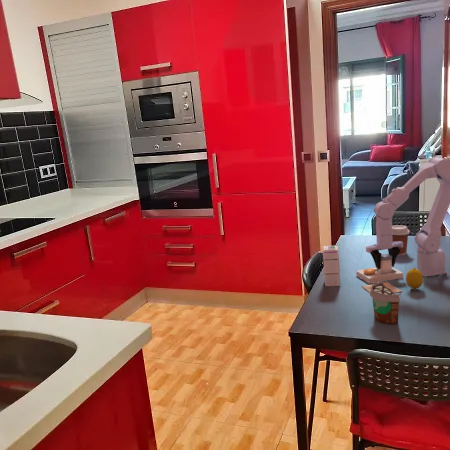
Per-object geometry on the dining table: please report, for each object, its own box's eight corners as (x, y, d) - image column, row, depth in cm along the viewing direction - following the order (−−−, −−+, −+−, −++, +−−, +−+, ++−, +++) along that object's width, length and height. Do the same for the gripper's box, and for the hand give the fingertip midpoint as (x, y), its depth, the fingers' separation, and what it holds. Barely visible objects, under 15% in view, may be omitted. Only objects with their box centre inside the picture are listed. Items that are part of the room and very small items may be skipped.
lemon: (422, 286, 160) (422, 265, 158) (423, 292, 155) (423, 270, 153) (405, 286, 162) (405, 265, 160) (406, 292, 157) (406, 270, 155)
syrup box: (340, 286, 168) (339, 249, 165) (324, 286, 169) (322, 249, 166) (340, 280, 174) (338, 244, 170) (324, 281, 175) (322, 245, 172)
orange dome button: (372, 275, 175) (371, 267, 175) (377, 278, 171) (377, 271, 171) (361, 276, 175) (361, 269, 174) (367, 280, 170) (367, 273, 170)
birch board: (386, 282, 167) (386, 281, 167) (401, 292, 157) (401, 291, 157) (361, 287, 165) (361, 286, 165) (375, 296, 156) (375, 295, 155)
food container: (364, 312, 145) (363, 283, 143) (382, 309, 145) (382, 280, 143) (380, 329, 133) (379, 297, 131) (400, 326, 133) (399, 295, 131)
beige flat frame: (388, 269, 180) (388, 265, 179) (403, 277, 170) (403, 272, 170) (356, 275, 177) (356, 270, 177) (369, 283, 168) (368, 278, 167)
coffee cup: (411, 250, 200) (411, 224, 197) (407, 257, 192) (407, 230, 190) (390, 249, 205) (390, 224, 202) (385, 255, 197) (385, 229, 195)
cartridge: (387, 272, 177) (387, 253, 175) (395, 276, 172) (395, 256, 170) (375, 274, 176) (374, 255, 174) (382, 278, 171) (382, 259, 169)
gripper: (395, 228, 175) (396, 261, 178) (361, 233, 173) (362, 267, 176) (406, 232, 169) (406, 266, 172) (370, 238, 166) (371, 272, 169)
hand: (385, 267), depth 173 cm, fingers closed on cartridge, 5 cm apart
